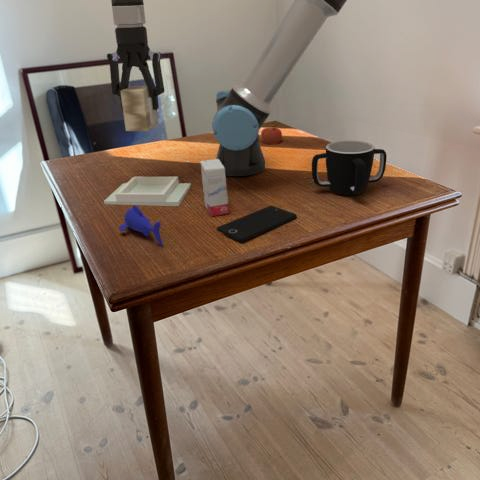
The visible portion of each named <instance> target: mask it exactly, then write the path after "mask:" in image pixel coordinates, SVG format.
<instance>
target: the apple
mask: <svg viewBox="0 0 480 480" xmlns="http://www.w3.org/2000/svg"><path fill="white" fill-rule="evenodd" d="M276 126H277V124H275V125H274V127H273V126H272V127H271V126H270V127H269V126H268V127H266V128H265V127H264V129H262V130H261V132H260V139H261V142H262V144H264V143H266V144H265V145H276V144H275V143H278V144H280V143H281V142H282V139H283V133H282V130H281V129H280V128H278V127H276ZM280 141H281V142H280ZM279 142H280V143H279Z"/></svg>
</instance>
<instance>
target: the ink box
mask: <svg viewBox="0 0 480 480" xmlns="http://www.w3.org/2000/svg"><path fill="white" fill-rule="evenodd" d="M200 170H201V172H200V173H201V180H202V188H203V189H202V190H203V200H204V206H205V207H206V210H207V211H208V214H209V216H211V217H215V216H221V215H227V214H230V207H229V205H230V204H229V197H228V196H229V195H228V188H227V177H226V176H227V175H225V168H224V166H223V165H222V163H221V162H220V160H219V159H216V158H215V159H206V160H201V161H200Z"/></svg>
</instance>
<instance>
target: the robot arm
mask: <svg viewBox="0 0 480 480" xmlns="http://www.w3.org/2000/svg"><path fill="white" fill-rule="evenodd" d="M110 1H111V9H112V10H111V11H112V20H113V25H114V26H116V27H115V29H114V34H115V42H116V46H117V48H116V51H115V52H111V53H107V55H106V58H107V61H108V64H109V70H110V71H109V72H110V73H109V74H110V82H111V83H110V84H111V94H112V95H116V96H118V97H119V101H120V106H121V110H123V106H122V99H121V92H120V91H122V90H124V89H127V88H129V83H130V78H131V71H132V68H134V67H135V68H138V70H139V71H140V72H141V75H142V79H143V80H144V82H145V86H147V88H148V91H149V93H150V97H148V104H149V112H150V121H151V124H154V123H155V122H157V115H156V110H157V111H158V110H159V107H160V106H159V96H160V95H162V94H164V93H165V86H164V79H163V73H162V66H161V58H162V53H161V52H160V51H157V52H156V51H154V50H153V51H152V50H151V48H150V47H149V43H148V41H149V40H148V30H147V27H146V26H144V25H146V15H145V5H144V0H110ZM347 2H348V0H294V1H293V3H292V4H291V6H290V8H289V9H288V11H287V12H286V14H285V15H284V17H283V18H282V20H281V21H280V22H279V25H278V26H277V28H276V30H275V31H274V32H273V34H272V36H271V37H270V39H269V40H268V42H267V43H266V45H265V47H264V48H263V50H262V51H261V53H260V55H259V56H258V58H257V60H256V61H255V62H254V64H253V66H252V67H251V69H250V70H249V72H248V74H247V75H246V77H245V78H244V80H243V81H242V83H241V84H238V85H233V86H232V87H231V89H230V90H220V91H217V92H216V97H215V98H216V99H215V102H216V113H215V115H214V116H213V120H212V122H211V124H212V126H211V127H212V132H213V136H214V137H215V140H216V141H217V142H218V144H219V145H218V150H217V154H216V158H215V159H219V160H220V162H221V163H222V165H223V166H224V168H225V176H228V177H229V176H230V177H245V176H251V175H256V174H259V173H261V172H263V171H265V169H266V158H265V156H264V153H263V151H262V147H261V144H260V140H259V139H260V138H259V136H260V135H259V132H260V130H261V128H262V126H263V125H264V123H265V122H266V120H268V118H269V116H270V114H271V113H272V111H271V102H272V101H273V99H274V98H275V97H276V95H277V93H278V92H279V90H280V89H281V87H282V86H283V84H285V81H286V80H287V78H288V77H289V76H290V74H291V72H292V71H293V70H294V68H295V67H296V65H298V62H299V61H300V59H301V58H302V56H303V55H304V53H305V52H306V50H308V49H307V48H309V45H310V44H311V43H312V41H313V40H314V38H315V37H316V35H317V34H318V32H319V31H320V29H321V28H322V26H323V25H324V24H325V22H326V20H327V19H328V18H329V17H332V16H333V17H334V16H337V15H338V14H339V13H340V10H341V9H343V6H344V5H345V4H346V3H347ZM149 57H150V61H151V65H152V71H153V76H154V77H153V76H152V74H151V71H150V67H149V64H148V62H147V61H148V59H149ZM119 59H120V60H121V61H122V64H121V65H122V66H121V69H122V71H121V76H120V70H119ZM120 77H121V78H120Z"/></svg>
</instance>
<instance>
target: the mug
mask: <svg viewBox="0 0 480 480" xmlns="http://www.w3.org/2000/svg"><path fill="white" fill-rule="evenodd" d="M375 155H379V164H378V165H379V167H378V170H377V173H376V174H375V175H374V176H371V174H372V169H373V165H374V157H375ZM320 159H325V168H326V169H325V170H326V177H327V180H324V181H323V180H322V181H321V180H320V178H319V176H318V175H319V173H318V172H319V171H318V166H319V165H318V164H319V160H320ZM386 167H387V152H386V151H385V150H384V149H381V148H375V145H373V144H372V143H369V142H368V141H367V142H366V141H363V140H362V141H361V140H338V141H334V142H330V143H328V144H327V145H326V146H325V152H323V153H319V154H315V155H313V157H312V159H311V177H312V180H313V183H314V184H315V185H316V186H317V187H320V188H321V187H322V188H326V187H327V188H328V187H329V189H330V191H331V192H332V193H335V194H337V195H340V196H341V195H342V196H356V195H360V194H362V193H364V192H365V191H366V190H367V187H368V185H369V184H370V183H371V184H372V183H377V182H379V181H381V179H382V178H383V176H384V175H385V172H386Z"/></svg>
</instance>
